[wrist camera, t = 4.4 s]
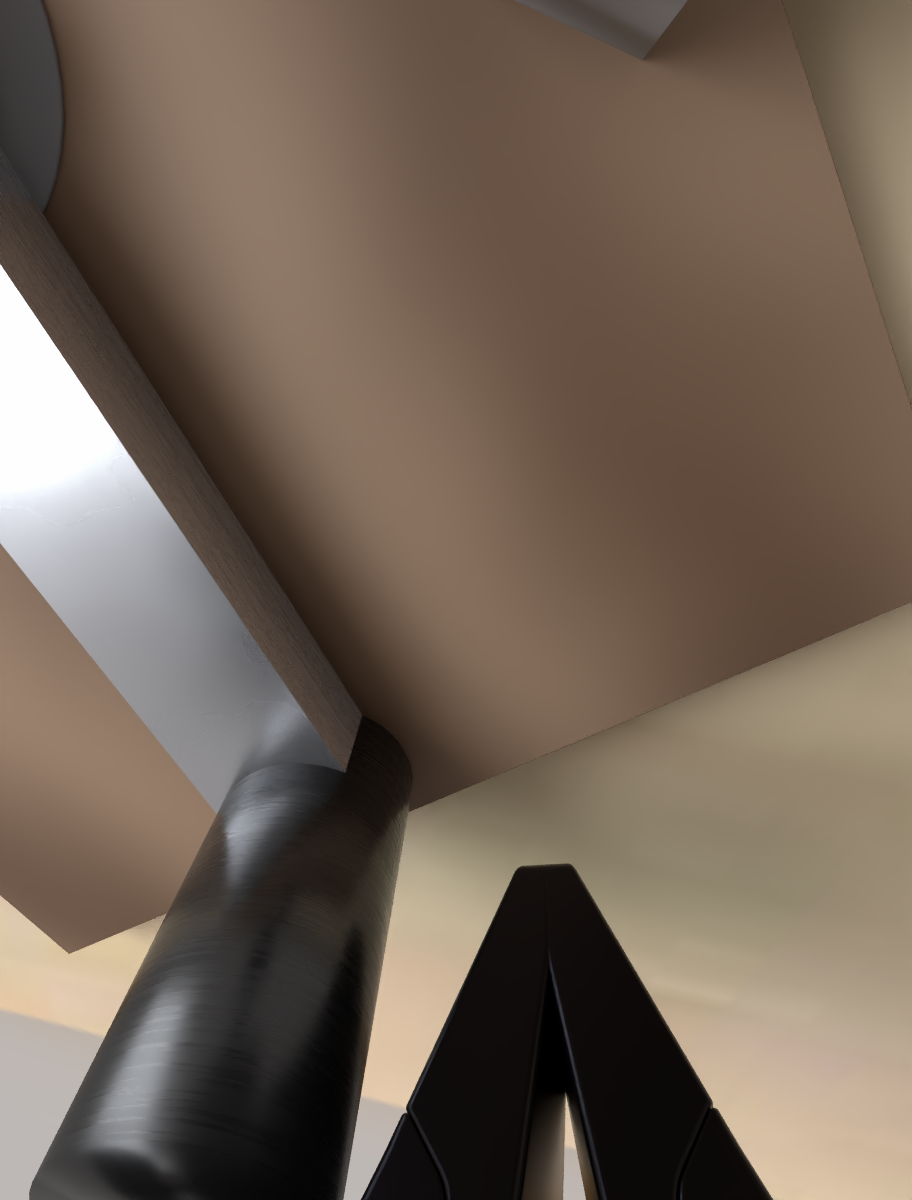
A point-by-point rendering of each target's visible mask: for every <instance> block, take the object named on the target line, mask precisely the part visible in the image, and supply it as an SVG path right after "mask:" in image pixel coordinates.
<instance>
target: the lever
mask: <svg viewBox="0 0 912 1200" xmlns="http://www.w3.org/2000/svg"><path fill="white" fill-rule="evenodd" d="M0 543H1V545H2V546H3V547H4V548H5V550H6V551H7V552H8V553H9V555H10V556H11V557H12V558H13V560H14V561H15V562H16V563H17V565H18V566H19V567H20V568H21V570H22V571H23V572H24V573H25V575H26V576H27V577H28V578H29V580H30V581H31V582H32V583H33V585H34V586H35V587H36V588H37V590H38V591H39V592H40V593H41V595H42V596H43V597H44V598H45V600H46V601H47V602H48V603H49V605H50V606H51V607H52V608H53V610H54V611H55V612H56V613H57V615H58V616H59V617H60V618H61V620H62V621H63V622H64V623H65V625H66V626H67V627H68V628H69V630H70V631H71V632H72V633H73V635H74V636H75V637H76V638H77V640H78V641H79V642H80V643H81V645H82V646H83V647H84V649H85V650H86V651H87V652H88V654H89V655H90V656H91V657H92V659H93V660H94V661H95V662H96V664H97V665H98V666H99V667H100V669H101V670H102V671H103V672H104V674H105V675H106V676H107V677H108V679H109V680H110V681H111V682H112V684H113V685H114V686H115V687H116V689H117V690H118V691H119V692H120V694H121V695H122V696H123V697H124V699H125V700H126V701H127V702H128V704H129V705H130V706H131V707H132V709H133V710H134V711H135V712H136V714H137V715H138V716H139V717H140V719H141V720H142V721H143V722H144V724H145V725H146V726H147V727H148V729H149V730H150V731H151V732H152V734H153V735H154V736H155V737H156V739H157V740H158V741H159V742H160V744H161V745H162V746H163V747H164V749H165V750H166V751H167V752H168V754H169V755H170V756H171V757H172V759H173V760H174V761H175V762H176V764H177V765H178V766H179V767H180V769H181V770H182V771H183V772H184V774H185V775H186V776H187V777H188V779H189V780H190V781H191V782H192V784H193V785H194V786H195V787H196V789H197V790H198V791H199V792H200V794H201V795H202V796H203V797H204V799H205V800H206V801H207V802H208V804H209V805H210V806H211V807H212V809H213V810H214V811H215V812H216V814H217V815H216V817H215V819H214V821H213V823H212V825H211V827H210V829H209V831H208V833H207V835H206V837H205V839H204V841H203V843H202V845H201V847H200V849H199V851H198V853H197V855H196V857H195V859H194V861H193V863H192V865H191V867H190V869H189V871H188V873H187V875H186V877H185V879H184V881H183V883H182V885H181V887H180V889H179V891H178V893H177V895H176V897H175V899H174V901H173V903H172V905H171V907H170V909H169V911H168V913H167V915H166V917H165V919H164V921H163V923H162V925H161V927H160V929H159V931H158V933H157V935H156V937H155V939H154V941H153V943H152V945H151V947H150V949H149V951H148V953H147V955H146V957H145V959H144V961H143V963H142V965H141V967H140V969H139V971H138V973H137V975H136V977H135V978H134V980H133V982H132V984H131V986H130V988H129V990H128V992H127V994H126V996H125V998H124V1000H123V1002H122V1004H121V1006H120V1008H119V1010H118V1012H117V1014H116V1016H115V1018H114V1020H113V1022H112V1024H111V1026H110V1028H109V1030H108V1032H107V1034H106V1036H105V1038H104V1040H103V1043H102V1044H101V1046H100V1048H99V1050H98V1052H97V1054H96V1057H95V1058H94V1061H93V1062H92V1064H91V1066H90V1068H89V1070H88V1072H87V1074H86V1076H85V1078H84V1080H83V1082H82V1084H81V1086H80V1088H79V1090H78V1092H77V1094H76V1096H75V1098H74V1100H73V1102H72V1104H71V1106H70V1108H69V1110H68V1112H67V1114H66V1116H65V1118H64V1120H63V1122H62V1124H61V1126H60V1128H59V1130H58V1132H57V1134H56V1136H55V1138H54V1140H53V1142H52V1144H51V1146H50V1148H49V1150H48V1152H47V1154H46V1156H45V1158H44V1160H43V1162H42V1164H41V1166H40V1168H39V1170H38V1172H37V1174H36V1176H35V1178H34V1180H33V1182H32V1185H31V1188H30V1193H29V1196H30V1197H29V1199H30V1200H343V1198H344V1192H345V1186H346V1180H347V1174H348V1168H349V1162H350V1156H351V1150H352V1144H353V1138H354V1132H355V1126H356V1120H357V1114H358V1108H359V1102H360V1096H361V1090H362V1084H363V1078H364V1073H365V1067H366V1061H367V1055H368V1049H369V1043H370V1037H371V1031H372V1025H373V1019H374V1013H375V1007H376V1001H377V995H378V989H379V983H380V977H381V971H382V965H383V959H384V953H385V947H386V941H387V935H388V929H389V923H390V917H391V911H392V905H393V899H394V893H395V887H396V881H397V875H398V869H399V863H400V857H401V851H402V845H403V839H404V833H405V827H406V821H407V815H408V809H409V803H410V797H411V791H412V785H413V774H412V768H411V764H410V761H409V759H408V756H407V754H406V752H405V751H404V749H403V747H402V746H401V745H400V743H399V742H398V740H397V739H396V738H395V737H394V736H393V735H392V734H391V733H390V732H389V731H387V730H386V729H385V728H384V727H383V726H381V725H380V724H378V723H377V722H375V721H373V720H372V719H370V718H368V717H366V716H364V715H362V714H361V712H360V710H359V709H358V707H357V706H356V704H355V703H354V701H353V699H352V698H351V696H350V695H349V693H348V692H347V690H346V689H345V687H344V685H343V684H342V682H341V681H340V679H339V678H338V676H337V674H336V673H335V671H334V670H333V668H332V667H331V665H330V663H329V662H328V660H327V659H326V657H325V656H324V654H323V652H322V651H321V649H320V648H319V646H318V645H317V643H316V642H315V640H314V638H313V637H312V635H311V634H310V632H309V631H308V629H307V627H306V626H305V624H304V623H303V621H302V620H301V618H300V616H299V615H298V613H297V612H296V610H295V609H294V607H293V605H292V604H291V602H290V601H289V599H288V598H287V596H286V595H285V593H284V591H283V590H282V588H281V587H280V585H279V584H278V582H277V580H276V579H275V577H274V576H273V574H272V573H271V571H270V569H269V568H268V566H267V565H266V563H265V562H264V560H263V558H262V557H261V555H260V554H259V552H258V551H257V549H256V548H255V546H254V544H253V543H252V541H251V540H250V538H249V537H248V535H247V533H246V532H245V530H244V529H243V527H242V526H241V524H240V522H239V521H238V519H237V518H236V516H235V515H234V513H233V511H232V510H231V508H230V507H229V505H228V504H227V502H226V500H225V499H224V497H223V496H222V494H221V493H220V491H219V490H218V488H217V486H216V485H215V483H214V482H213V480H212V479H211V477H210V475H209V474H208V472H207V471H206V469H205V468H204V466H203V464H202V463H201V461H200V460H199V458H198V457H197V455H196V453H195V452H194V450H193V449H192V447H191V446H190V444H189V443H188V441H187V439H186V438H185V436H184V435H183V433H182V432H181V430H180V428H179V427H178V425H177V424H176V422H175V421H174V419H173V417H172V416H171V414H170V413H169V411H168V410H167V408H166V406H165V405H164V403H163V402H162V400H161V399H160V397H159V396H158V394H157V392H156V391H155V389H154V388H153V386H152V385H151V383H150V381H149V380H148V378H147V377H146V375H145V374H144V372H143V370H142V369H141V367H140V366H139V364H138V363H137V361H136V359H135V358H134V356H133V355H132V353H131V352H130V350H129V349H128V347H127V345H126V344H125V342H124V341H123V339H122V338H121V336H120V334H119V333H118V331H117V330H116V328H115V327H114V325H113V323H112V322H111V320H110V319H109V317H108V316H107V314H106V312H105V311H104V309H103V308H102V306H101V305H100V303H99V301H98V300H97V298H96V297H95V295H94V294H93V292H92V291H91V289H90V287H89V286H88V284H87V283H86V281H85V280H84V278H83V276H82V275H81V273H80V272H79V270H78V269H77V267H76V265H75V264H74V262H73V261H72V259H71V258H70V256H69V254H68V253H67V251H66V250H65V248H64V247H63V245H62V244H61V242H60V240H59V239H58V237H57V236H56V234H55V233H54V231H53V229H52V228H51V226H50V225H49V223H48V222H47V220H46V218H45V217H44V215H43V214H42V212H41V211H40V209H39V207H38V206H37V204H36V203H35V201H34V200H33V198H32V197H31V195H30V193H29V192H28V190H27V189H26V187H25V186H24V184H23V182H22V181H21V179H20V178H19V176H18V175H17V173H16V171H15V170H14V168H13V167H12V165H11V164H10V162H9V160H8V159H7V157H6V156H5V154H4V153H3V151H2V149H1V148H0Z"/></svg>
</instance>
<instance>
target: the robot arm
mask: <svg viewBox="0 0 912 1200" xmlns="http://www.w3.org/2000/svg"><path fill="white" fill-rule="evenodd" d="M566 1096H567V1101H568V1106H569V1112H570V1117H571V1122H572V1128H573V1133H574V1138H575V1143H576V1149H577V1154H578V1159H579V1164H580V1169H581V1175H582V1180H583V1186H584V1190H585V1196H586V1200H773V1198H772V1197H771V1195H770V1194H769V1192H768V1191H767V1189H766V1187H765V1186H764V1184H763V1183H762V1181H761V1179H760V1178H759V1176H758V1175H757V1173H756V1172H755V1170H754V1168H753V1167H752V1165H751V1164H750V1162H749V1160H748V1159H747V1157H746V1156H745V1154H744V1152H743V1151H742V1149H741V1148H740V1146H739V1144H738V1143H737V1141H736V1139H735V1138H734V1136H733V1134H732V1133H731V1131H730V1129H729V1128H728V1126H727V1124H726V1122H725V1121H724V1119H723V1117H722V1116H721V1114H720V1112H719V1111H718V1109H716V1108H713V1102H712V1099H711V1098H710V1096H709V1094H708V1093H707V1091H706V1089H705V1088H704V1086H703V1084H702V1082H701V1081H700V1079H699V1077H698V1076H697V1074H696V1072H695V1071H694V1069H693V1067H692V1066H691V1064H690V1062H689V1060H688V1059H687V1057H686V1055H685V1054H684V1052H683V1050H682V1049H681V1047H680V1045H679V1044H678V1042H677V1040H676V1038H675V1037H674V1035H673V1033H672V1032H671V1030H670V1028H669V1027H668V1025H667V1023H666V1021H665V1020H664V1018H663V1016H662V1015H661V1013H660V1011H659V1010H658V1008H657V1006H656V1005H655V1003H654V1001H653V999H652V998H651V996H650V994H649V993H648V991H647V989H646V988H645V986H644V984H643V982H642V981H641V979H640V977H639V976H638V974H637V972H636V971H635V969H634V967H633V966H632V964H631V962H630V960H629V959H628V957H627V955H626V954H625V952H624V950H623V949H622V947H621V945H620V944H619V942H618V940H617V938H616V937H615V935H614V933H613V932H612V930H611V928H610V927H609V925H608V923H607V921H606V920H605V918H604V916H603V915H602V913H601V911H600V910H599V908H598V906H597V905H596V903H595V901H594V899H593V898H592V896H591V894H590V893H589V891H588V889H587V888H586V886H585V884H584V882H583V881H582V879H581V877H580V876H579V874H578V872H577V871H576V869H575V868H574V867H573V865H571V864H567V863H566V864H550V865H533V866H521V867H519V868H517V870H516V871H515V873H514V875H513V877H512V879H511V881H510V883H509V886H508V888H507V890H506V892H505V894H504V896H503V898H502V901H501V903H500V905H499V907H498V909H497V911H496V914H495V916H494V918H493V920H492V922H491V924H490V927H489V929H488V931H487V933H486V935H485V937H484V940H483V942H482V944H481V946H480V948H479V950H478V953H477V955H476V957H475V959H474V961H473V963H472V965H471V968H470V970H469V972H468V974H467V976H466V978H465V981H464V983H463V985H462V987H461V989H460V991H459V994H458V996H457V998H456V1000H455V1002H454V1004H453V1007H452V1009H451V1011H450V1013H449V1015H448V1017H447V1020H446V1022H445V1024H444V1026H443V1028H442V1030H441V1032H440V1035H439V1037H438V1039H437V1041H436V1043H435V1045H434V1048H433V1050H432V1052H431V1054H430V1056H429V1058H428V1061H427V1063H426V1065H425V1067H424V1069H423V1071H422V1074H421V1076H420V1078H419V1080H418V1082H417V1084H416V1087H415V1089H414V1091H413V1093H412V1095H411V1097H410V1100H409V1102H408V1104H407V1106H406V1110H407V1113H408V1114H407V1113H404V1114H403V1115H402V1116H401V1118H400V1120H399V1123H398V1125H397V1127H396V1129H395V1131H394V1133H393V1136H392V1138H391V1140H390V1142H389V1144H388V1147H387V1148H386V1150H385V1152H384V1154H383V1156H382V1159H381V1161H380V1163H379V1165H378V1167H377V1169H376V1171H375V1173H374V1175H373V1177H372V1179H371V1181H370V1183H369V1185H368V1187H367V1189H366V1191H365V1193H364V1195H363V1197H362V1199H361V1200H563V1178H564V1140H565V1103H566Z"/></svg>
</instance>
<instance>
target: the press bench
mask: <svg viewBox="0 0 912 1200" xmlns="http://www.w3.org/2000/svg"><path fill="white" fill-rule="evenodd" d="M0 148H1V149H2V151H3V153H4V154H5V156H6V157H7V159H8V160H9V162H10V164H11V165H12V167H13V168H14V170H15V171H16V173H17V175H18V176H19V178H20V179H21V181H22V182H23V184H24V186H25V187H26V189H27V190H28V192H29V193H30V195H31V197H32V198H33V200H34V201H35V203H36V204H37V206H38V207H39V209H40V211H41V212H42V214H43V215H44V217H45V218H46V220H47V222H48V223H49V225H50V226H51V228H52V229H53V231H54V233H55V234H56V236H57V237H58V239H59V240H60V242H61V244H62V245H63V247H64V248H65V250H66V251H67V253H68V254H69V256H70V258H71V259H72V261H73V262H74V264H75V265H76V267H77V269H78V270H79V272H80V273H81V275H82V276H83V278H84V280H85V281H86V283H87V284H88V286H89V287H90V289H91V291H92V292H93V294H94V295H95V297H96V298H97V300H98V301H99V303H100V305H101V306H102V308H103V309H104V311H105V312H106V314H107V316H108V317H109V319H110V320H111V322H112V323H113V325H114V327H115V328H116V330H117V331H118V333H119V334H120V336H121V338H122V339H123V341H124V342H125V344H126V345H127V347H128V349H129V350H130V352H131V353H132V355H133V356H134V358H135V359H136V361H137V363H138V364H139V366H140V367H141V369H142V370H143V372H144V374H145V375H146V377H147V378H148V380H149V381H150V383H151V385H152V386H153V388H154V389H155V391H156V392H157V394H158V396H159V397H160V399H161V400H162V402H163V403H164V405H165V406H166V408H167V410H168V411H169V413H170V414H171V416H172V417H173V419H174V421H175V422H176V424H177V425H178V427H179V428H180V430H181V432H182V433H183V435H184V436H185V438H186V439H187V441H188V443H189V444H190V446H191V447H192V449H193V450H194V452H195V453H196V455H197V457H198V458H199V460H200V461H201V463H202V464H203V466H204V468H205V469H206V471H207V472H208V474H209V475H210V477H211V479H212V480H213V482H214V483H215V485H216V486H217V488H218V490H219V491H220V493H221V494H222V496H223V497H224V499H225V500H226V502H227V504H228V505H229V507H230V508H231V510H232V511H233V513H234V515H235V516H236V518H237V519H238V521H239V522H240V524H241V526H242V527H243V529H244V530H245V532H246V533H247V535H248V537H249V538H250V540H251V541H252V543H253V544H254V546H255V548H256V549H257V551H258V552H259V554H260V555H261V557H262V558H263V560H264V562H265V563H266V565H267V566H268V568H269V569H270V571H271V573H272V574H273V576H274V577H275V579H276V580H277V582H278V584H279V585H280V587H281V588H282V590H283V591H284V593H285V595H286V596H287V598H288V599H289V601H290V602H291V604H292V605H293V607H294V609H295V610H296V612H297V613H298V615H299V616H300V618H301V620H302V621H303V623H304V624H305V626H306V627H307V629H308V631H309V632H310V634H311V635H312V637H313V638H314V640H315V642H316V643H317V645H318V646H319V648H320V649H321V651H322V652H323V654H324V656H325V657H326V659H327V660H328V662H329V663H330V665H331V667H332V668H333V670H334V671H335V673H336V674H337V676H338V678H339V679H340V681H341V682H342V684H343V685H344V687H345V689H346V690H347V692H348V693H349V695H350V696H351V698H352V699H353V701H354V703H355V704H356V706H357V707H358V709H359V710H360V712H361V714H362V715H364V716H366V717H368V718H370V719H372V720H373V721H375V722H377V723H378V724H380V725H381V726H383V727H384V728H385V729H386V730H387V731H389V732H390V733H391V734H392V735H393V736H394V737H395V738H396V739H397V740H398V742H399V743H400V745H401V746H402V747H403V749H404V751H405V752H406V754H407V756H408V759H409V761H410V764H411V768H412V774H413V785H412V791H411V797H410V803H409V809H408V812H410V811H412V810H414V809H417V808H419V807H422V806H424V805H426V804H429V803H431V802H434V801H436V800H438V799H441V798H443V797H445V796H448V795H450V794H453V793H455V792H457V791H460V790H462V789H465V788H467V787H469V786H472V785H474V784H477V783H479V782H481V781H484V780H486V779H489V778H491V777H493V776H496V775H498V774H501V773H503V772H505V771H508V770H510V769H512V768H515V767H517V766H520V765H522V764H524V763H527V762H529V761H532V760H534V759H536V758H539V757H541V756H544V755H546V754H548V753H551V752H553V751H556V750H558V749H560V748H563V747H565V746H567V745H570V744H572V743H575V742H577V741H579V740H582V739H584V738H587V737H589V736H591V735H594V734H596V733H599V732H601V731H603V730H606V729H608V728H611V727H613V726H615V725H618V724H620V723H623V722H625V721H627V720H630V719H632V718H634V717H637V716H639V715H642V714H644V713H646V712H649V711H651V710H654V709H656V708H658V707H661V706H663V705H666V704H668V703H670V702H673V701H675V700H678V699H680V698H682V697H685V696H687V695H690V694H692V693H694V692H697V691H699V690H701V689H704V688H706V687H709V686H711V685H713V684H716V683H718V682H721V681H723V680H725V679H728V678H730V677H733V676H735V675H737V674H740V673H742V672H745V671H747V670H749V669H752V668H754V667H756V666H759V665H761V664H764V663H766V662H768V661H771V660H773V659H776V658H778V657H780V656H783V655H785V654H788V653H790V652H792V651H795V650H797V649H800V648H802V647H804V646H807V645H809V644H812V643H814V642H816V641H819V640H821V639H823V638H826V637H828V636H831V635H833V634H835V633H838V632H840V631H843V630H845V629H847V628H850V627H852V626H855V625H857V624H859V623H862V622H864V621H867V620H869V619H871V618H874V617H876V616H879V615H881V614H883V613H886V612H888V611H890V610H893V609H895V608H898V607H900V606H902V605H905V604H907V603H910V602H912V408H911V405H910V402H909V399H908V396H907V393H906V389H905V386H904V383H903V380H902V377H901V374H900V371H899V367H898V364H897V361H896V358H895V355H894V352H893V349H892V345H891V342H890V339H889V336H888V333H887V330H886V326H885V323H884V320H883V317H882V314H881V311H880V308H879V304H878V301H877V298H876V295H875V292H874V289H873V285H872V282H871V279H870V276H869V273H868V270H867V267H866V263H865V260H864V257H863V254H862V251H861V248H860V244H859V241H858V238H857V235H856V232H855V229H854V226H853V222H852V219H851V216H850V213H849V210H848V207H847V203H846V200H845V197H844V194H843V191H842V188H841V185H840V181H839V178H838V175H837V172H836V169H835V166H834V162H833V159H832V156H831V153H830V150H829V147H828V144H827V140H826V137H825V134H824V131H823V128H822V125H821V121H820V118H819V115H818V112H817V109H816V106H815V103H814V99H813V96H812V93H811V90H810V87H809V84H808V80H807V77H806V74H805V71H804V68H803V65H802V62H801V58H800V55H799V52H798V49H797V46H796V43H795V40H794V36H793V33H792V30H791V27H790V24H789V21H788V17H787V14H786V11H785V8H784V5H783V2H782V0H0ZM216 815H217V814H216V812H215V811H214V810H213V809H212V807H211V806H210V805H209V804H208V802H207V801H206V800H205V799H204V797H203V796H202V795H201V794H200V792H199V791H198V790H197V789H196V787H195V786H194V785H193V784H192V782H191V781H190V780H189V779H188V777H187V776H186V775H185V774H184V772H183V771H182V770H181V769H180V767H179V766H178V765H177V764H176V762H175V761H174V760H173V759H172V757H171V756H170V755H169V754H168V752H167V751H166V750H165V749H164V747H163V746H162V745H161V744H160V742H159V741H158V740H157V739H156V737H155V736H154V735H153V734H152V732H151V731H150V730H149V729H148V727H147V726H146V725H145V724H144V722H143V721H142V720H141V719H140V717H139V716H138V715H137V714H136V712H135V711H134V710H133V709H132V707H131V706H130V705H129V704H128V702H127V701H126V700H125V699H124V697H123V696H122V695H121V694H120V692H119V691H118V690H117V689H116V687H115V686H114V685H113V684H112V682H111V681H110V680H109V679H108V677H107V676H106V675H105V674H104V672H103V671H102V670H101V669H100V667H99V666H98V665H97V664H96V662H95V661H94V660H93V659H92V657H91V656H90V655H89V654H88V652H87V651H86V650H85V649H84V647H83V646H82V645H81V643H80V642H79V641H78V640H77V638H76V637H75V636H74V635H73V633H72V632H71V631H70V630H69V628H68V627H67V626H66V625H65V623H64V622H63V621H62V620H61V618H60V617H59V616H58V615H57V613H56V612H55V611H54V610H53V608H52V607H51V606H50V605H49V603H48V602H47V601H46V600H45V598H44V597H43V596H42V595H41V593H40V592H39V591H38V590H37V588H36V587H35V586H34V585H33V583H32V582H31V581H30V580H29V578H28V577H27V576H26V575H25V573H24V572H23V571H22V570H21V568H20V567H19V566H18V565H17V563H16V562H15V561H14V560H13V558H12V557H11V556H10V555H9V553H8V552H7V551H6V550H5V548H4V547H3V546H2V545H1V543H0V895H1V896H2V897H3V898H4V899H5V900H7V901H8V902H9V903H10V904H11V905H12V906H14V907H15V908H16V909H17V910H18V911H19V912H21V913H22V914H23V915H24V916H25V917H27V918H28V919H29V920H30V921H31V922H32V923H34V924H35V925H36V926H37V927H38V928H39V929H41V930H42V931H43V932H44V933H45V934H46V935H48V936H49V937H50V938H51V939H52V940H53V941H55V942H56V943H57V944H58V945H59V946H61V947H62V948H63V949H64V950H65V951H66V952H68V953H69V954H70V953H72V952H75V951H77V950H79V949H82V948H84V947H87V946H89V945H91V944H94V943H96V942H99V941H101V940H103V939H106V938H108V937H111V936H113V935H115V934H118V933H120V932H123V931H125V930H127V929H130V928H132V927H134V926H137V925H139V924H142V923H144V922H146V921H149V920H151V919H154V918H156V917H158V916H161V915H163V914H166V913H168V911H169V909H170V907H171V905H172V903H173V901H174V899H175V897H176V895H177V893H178V891H179V889H180V887H181V885H182V883H183V881H184V879H185V877H186V875H187V873H188V871H189V869H190V867H191V865H192V863H193V861H194V859H195V857H196V855H197V853H198V851H199V849H200V847H201V845H202V843H203V841H204V839H205V837H206V835H207V833H208V831H209V829H210V827H211V825H212V823H213V821H214V819H215V817H216Z"/></svg>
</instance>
